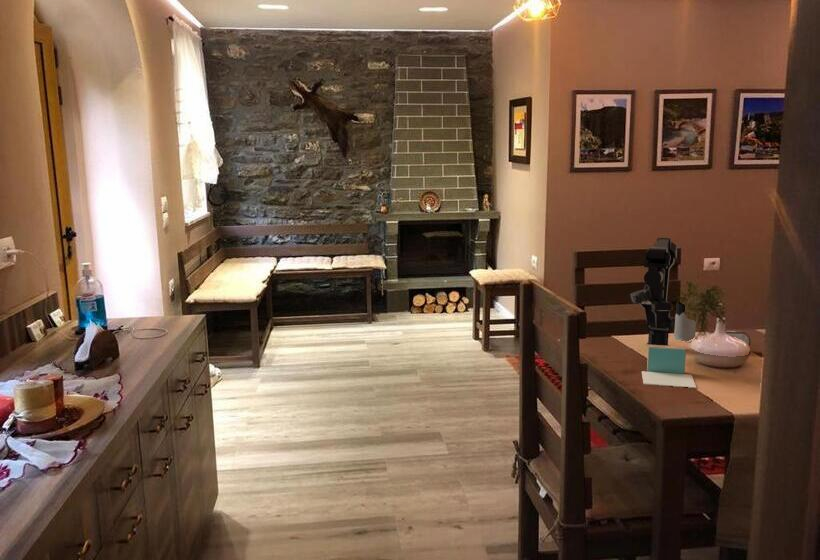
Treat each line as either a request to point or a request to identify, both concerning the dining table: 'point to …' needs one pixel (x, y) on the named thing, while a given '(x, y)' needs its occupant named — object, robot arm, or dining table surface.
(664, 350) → the tile
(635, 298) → the robot arm
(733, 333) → the tin
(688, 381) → the mat
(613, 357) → the dining table surface
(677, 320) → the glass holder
